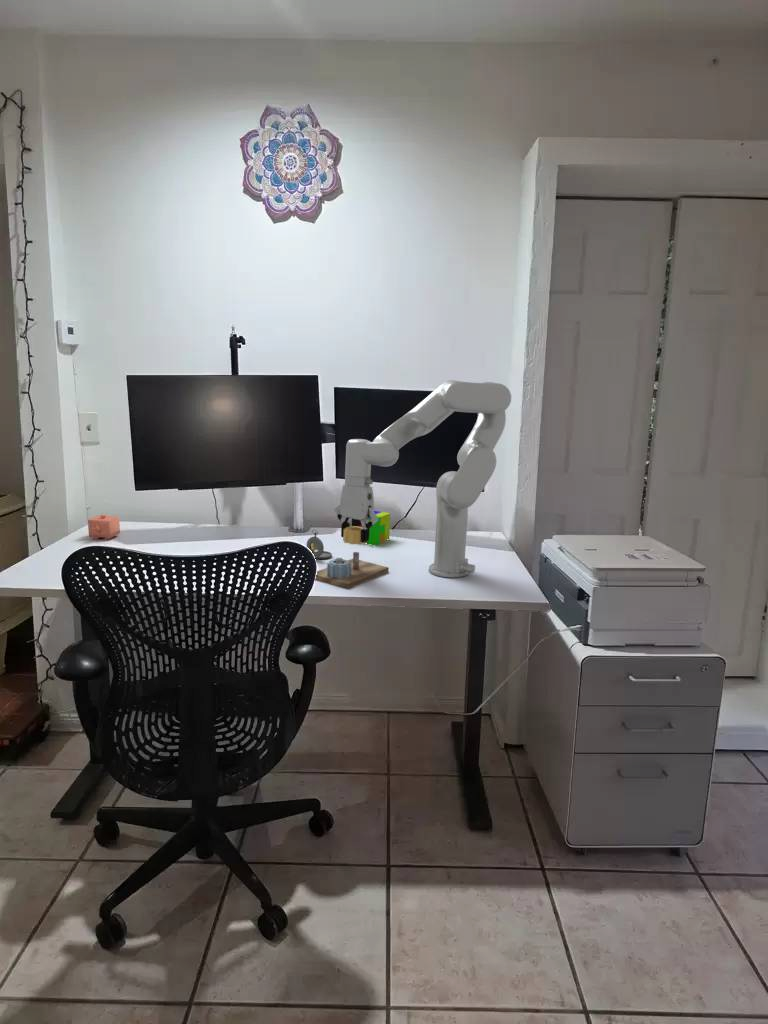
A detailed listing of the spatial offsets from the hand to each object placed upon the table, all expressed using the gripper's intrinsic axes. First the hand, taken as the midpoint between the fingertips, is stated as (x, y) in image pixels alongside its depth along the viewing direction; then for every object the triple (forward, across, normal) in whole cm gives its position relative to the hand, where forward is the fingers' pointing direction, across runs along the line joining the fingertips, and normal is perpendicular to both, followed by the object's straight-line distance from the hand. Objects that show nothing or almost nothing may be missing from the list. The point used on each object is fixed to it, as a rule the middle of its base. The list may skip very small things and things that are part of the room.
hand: (354, 538), depth 199 cm
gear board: (+11, -1, +2) cm, 11 cm away
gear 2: (+1, 0, 0) cm, 1 cm away
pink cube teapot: (+13, +89, +28) cm, 95 cm away
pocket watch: (+12, +18, -5) cm, 22 cm away
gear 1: (+10, 0, +8) cm, 12 cm away
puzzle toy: (+11, +18, -33) cm, 39 cm away
